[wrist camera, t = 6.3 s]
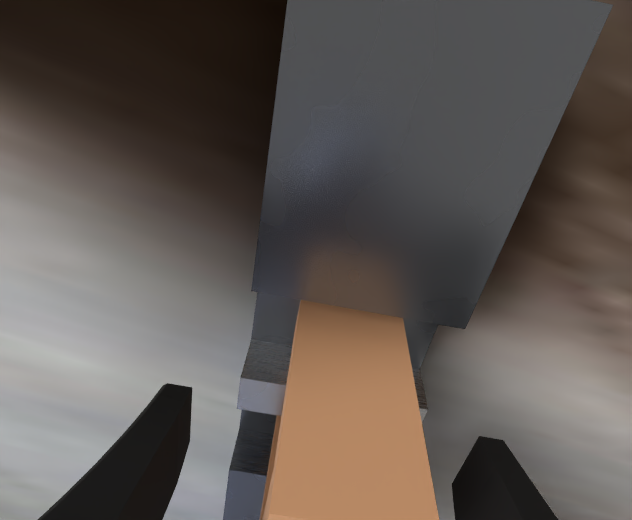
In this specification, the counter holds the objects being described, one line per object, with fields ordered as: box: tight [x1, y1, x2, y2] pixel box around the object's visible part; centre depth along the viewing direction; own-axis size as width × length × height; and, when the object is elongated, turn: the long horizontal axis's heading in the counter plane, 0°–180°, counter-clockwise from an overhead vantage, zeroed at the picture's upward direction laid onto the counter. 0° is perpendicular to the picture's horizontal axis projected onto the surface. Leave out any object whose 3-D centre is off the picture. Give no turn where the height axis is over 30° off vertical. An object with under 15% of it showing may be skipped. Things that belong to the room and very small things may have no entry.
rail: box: [223, 0, 613, 520], centre depth 13 cm, size 20×5×3 cm, turn 170°
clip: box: [259, 300, 439, 520], centre depth 11 cm, size 5×3×6 cm, turn 169°
